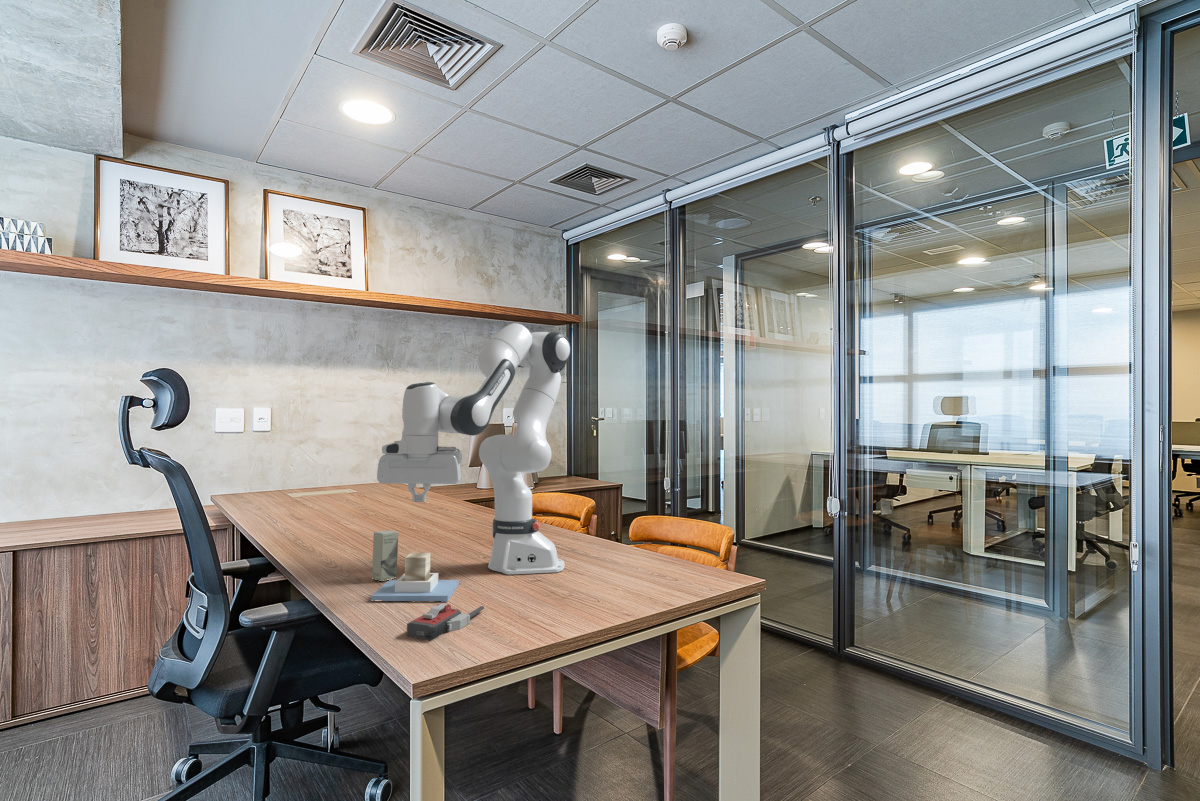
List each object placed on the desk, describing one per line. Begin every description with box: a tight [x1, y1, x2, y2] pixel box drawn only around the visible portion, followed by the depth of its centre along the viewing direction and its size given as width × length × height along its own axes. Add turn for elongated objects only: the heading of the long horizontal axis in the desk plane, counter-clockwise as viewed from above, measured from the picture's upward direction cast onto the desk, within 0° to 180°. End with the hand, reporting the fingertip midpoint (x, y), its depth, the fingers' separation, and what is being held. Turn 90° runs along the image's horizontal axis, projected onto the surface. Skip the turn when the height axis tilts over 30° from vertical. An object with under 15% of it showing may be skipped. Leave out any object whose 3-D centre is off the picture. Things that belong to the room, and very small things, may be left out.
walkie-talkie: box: [406, 603, 485, 641], centre depth 129 cm, size 9×4×20 cm
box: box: [371, 529, 399, 581], centre depth 163 cm, size 5×4×13 cm
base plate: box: [370, 572, 460, 603], centre depth 151 cm, size 18×14×4 cm
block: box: [404, 552, 431, 581], centre depth 151 cm, size 5×5×8 cm
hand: (419, 501), depth 151 cm, fingers closed
